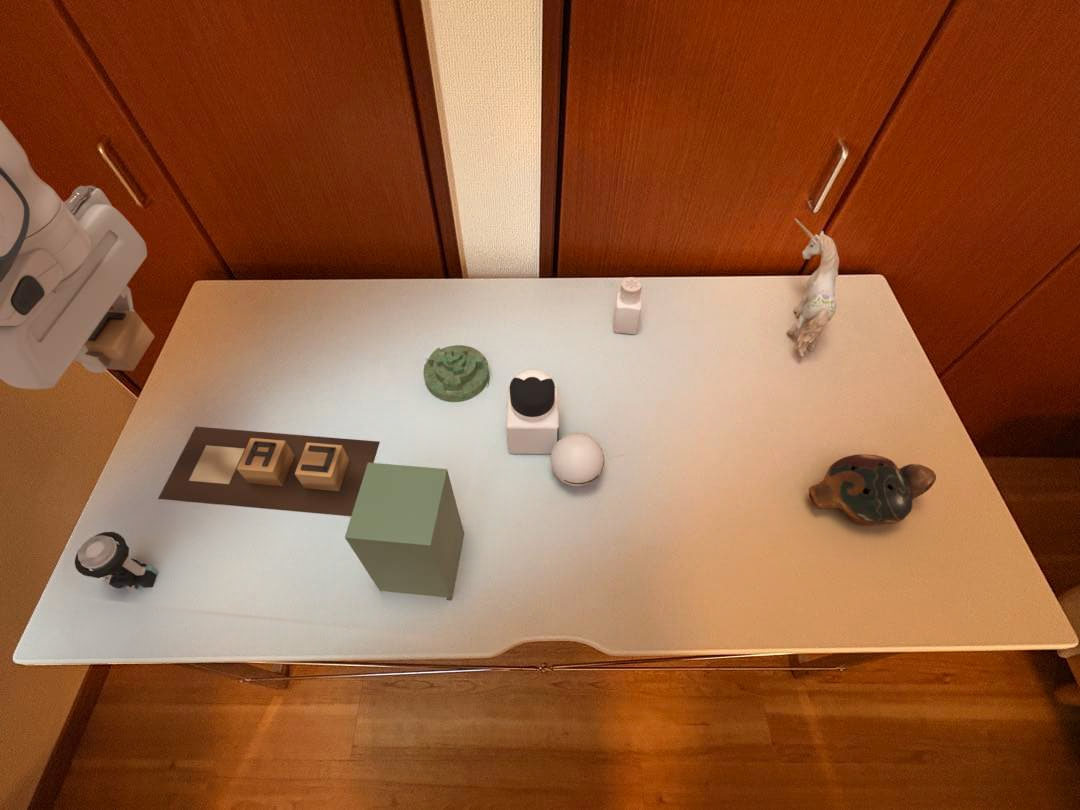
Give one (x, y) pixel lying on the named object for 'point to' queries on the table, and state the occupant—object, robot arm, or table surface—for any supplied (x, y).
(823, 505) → the decorative turtle
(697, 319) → the table surface
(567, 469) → the white sphere
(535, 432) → the white black domed block
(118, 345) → the tile
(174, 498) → the word board
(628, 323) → the pepper shaker
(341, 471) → the tile
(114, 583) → the push button
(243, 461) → the tile
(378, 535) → the stand
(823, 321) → the unicorn figurine
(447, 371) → the decorative artifact
